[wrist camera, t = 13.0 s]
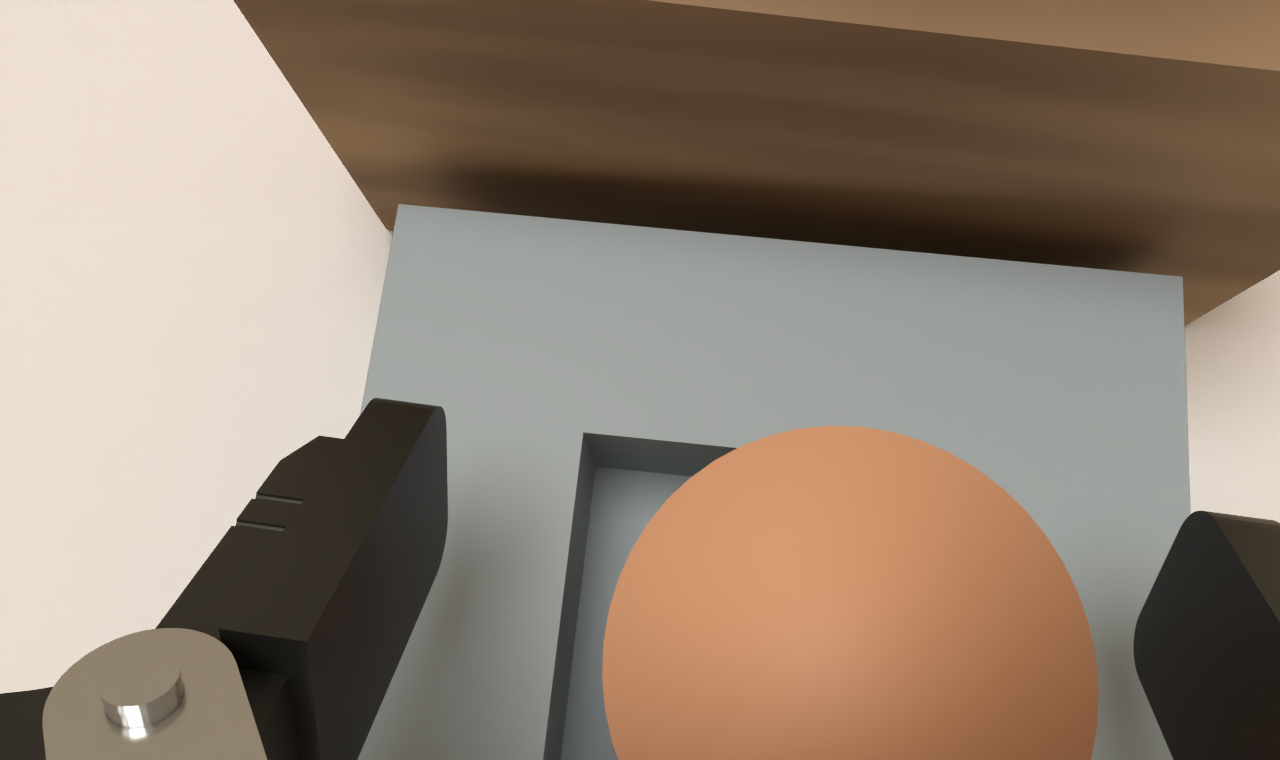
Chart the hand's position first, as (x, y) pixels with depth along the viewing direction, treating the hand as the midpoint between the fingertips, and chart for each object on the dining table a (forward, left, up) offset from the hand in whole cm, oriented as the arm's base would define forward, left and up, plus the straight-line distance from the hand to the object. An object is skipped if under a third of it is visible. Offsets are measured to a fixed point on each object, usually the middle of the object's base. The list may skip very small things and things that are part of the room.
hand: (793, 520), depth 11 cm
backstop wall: (-5, +4, -7) cm, 9 cm away
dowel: (+1, -1, -6) cm, 6 cm away
